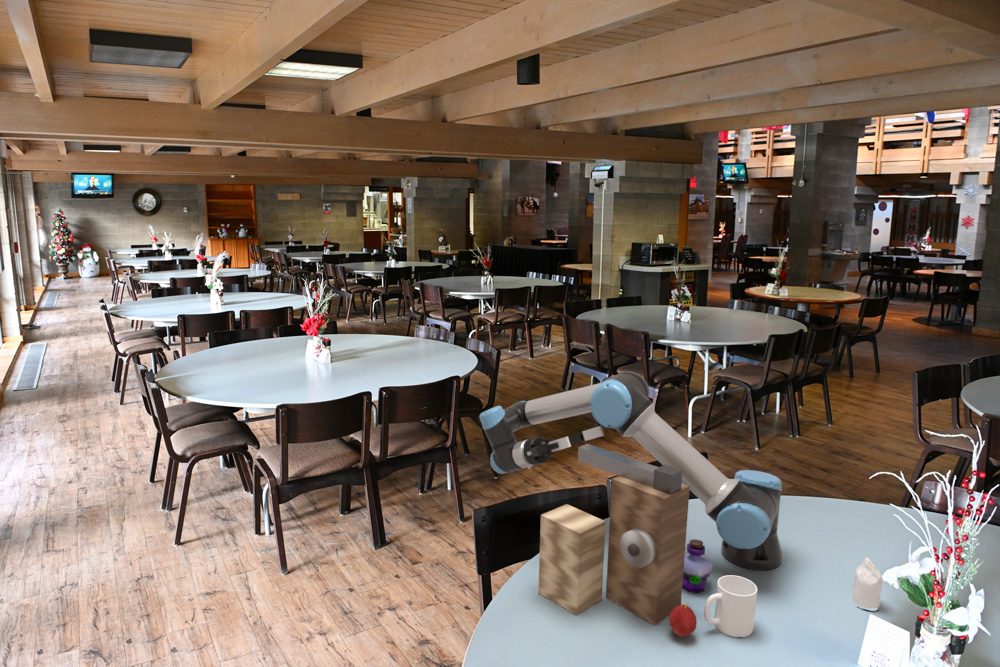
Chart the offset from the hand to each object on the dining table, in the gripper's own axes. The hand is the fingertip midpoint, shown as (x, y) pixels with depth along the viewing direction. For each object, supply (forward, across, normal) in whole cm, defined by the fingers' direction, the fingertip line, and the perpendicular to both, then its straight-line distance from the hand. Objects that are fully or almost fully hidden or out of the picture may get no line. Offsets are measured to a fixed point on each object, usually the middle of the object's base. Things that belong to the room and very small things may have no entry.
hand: (585, 436), depth 177 cm
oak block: (-4, +19, -34) cm, 39 cm away
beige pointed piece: (+40, -30, -57) cm, 76 cm away
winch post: (+8, +10, -41) cm, 42 cm away
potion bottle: (+12, -7, -42) cm, 45 cm away
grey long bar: (+16, +9, -11) cm, 21 cm away
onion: (+19, +12, -47) cm, 52 cm away
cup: (+24, +2, -49) cm, 55 cm away
